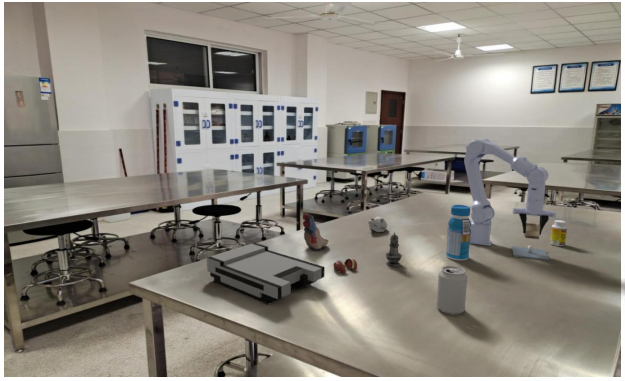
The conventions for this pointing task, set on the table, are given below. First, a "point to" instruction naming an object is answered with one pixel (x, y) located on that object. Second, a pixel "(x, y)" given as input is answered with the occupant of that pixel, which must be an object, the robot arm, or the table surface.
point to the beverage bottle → (459, 233)
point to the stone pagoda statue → (393, 252)
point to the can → (452, 290)
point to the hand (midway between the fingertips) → (531, 233)
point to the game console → (262, 272)
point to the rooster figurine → (312, 233)
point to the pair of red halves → (345, 265)
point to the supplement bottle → (558, 233)
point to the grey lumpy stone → (377, 224)
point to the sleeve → (532, 231)
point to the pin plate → (530, 253)
